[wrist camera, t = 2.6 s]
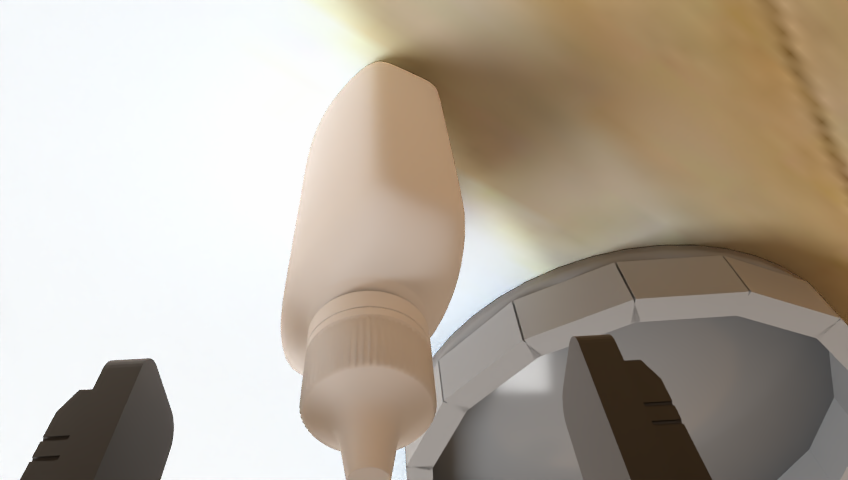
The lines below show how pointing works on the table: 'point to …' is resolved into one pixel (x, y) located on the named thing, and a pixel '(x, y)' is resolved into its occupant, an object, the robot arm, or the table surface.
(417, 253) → the eye dropper bottle
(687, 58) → the table surface
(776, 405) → the round tray
